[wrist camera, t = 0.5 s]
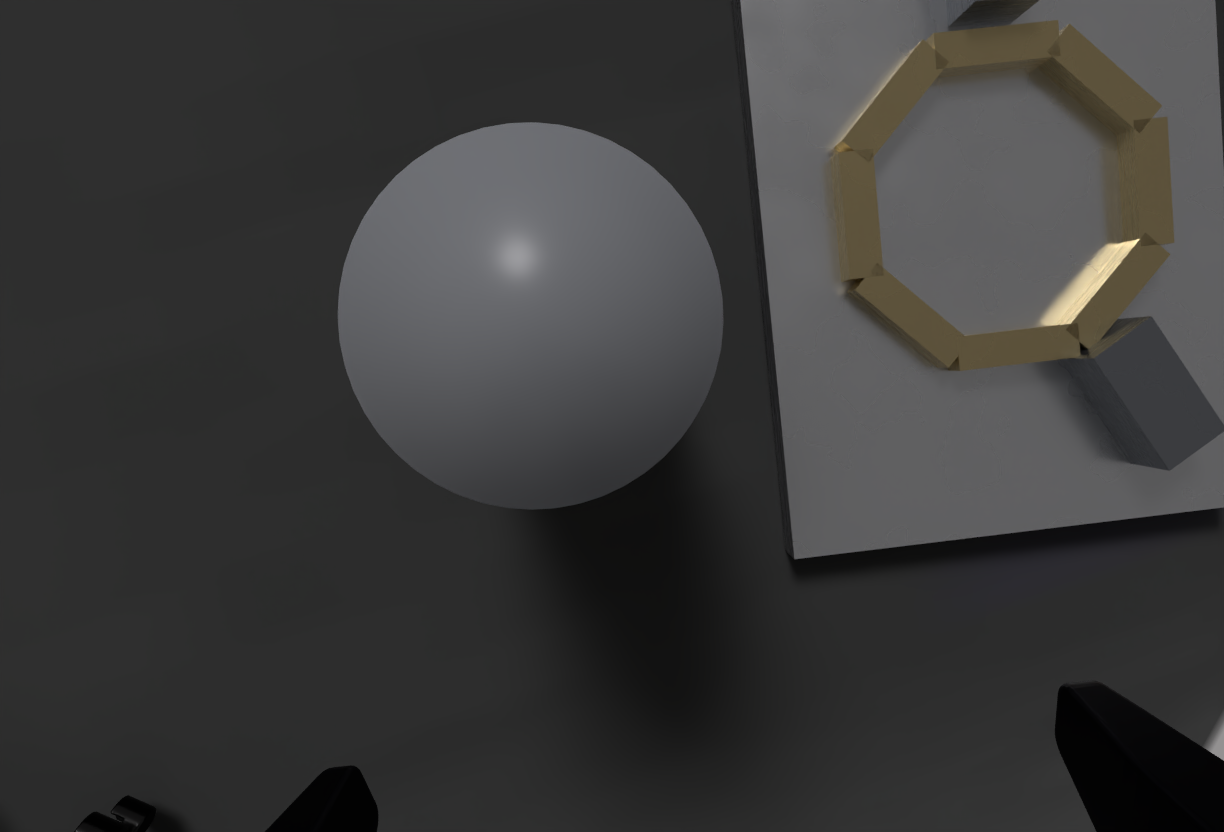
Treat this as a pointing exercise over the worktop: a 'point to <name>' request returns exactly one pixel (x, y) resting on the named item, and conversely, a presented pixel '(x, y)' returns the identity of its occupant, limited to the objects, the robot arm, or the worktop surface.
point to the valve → (121, 818)
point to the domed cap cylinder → (530, 316)
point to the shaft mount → (986, 262)
